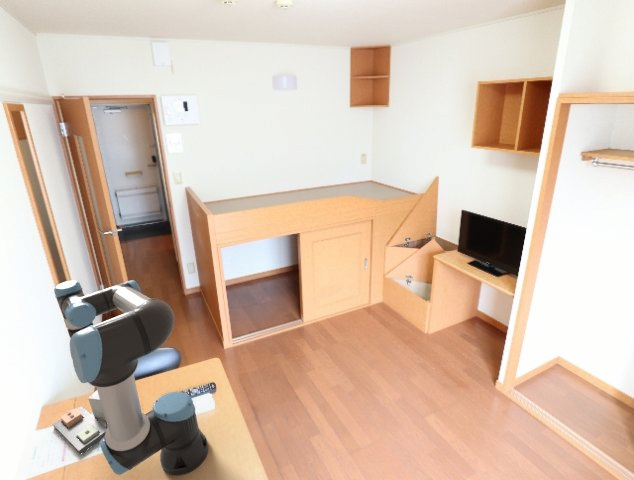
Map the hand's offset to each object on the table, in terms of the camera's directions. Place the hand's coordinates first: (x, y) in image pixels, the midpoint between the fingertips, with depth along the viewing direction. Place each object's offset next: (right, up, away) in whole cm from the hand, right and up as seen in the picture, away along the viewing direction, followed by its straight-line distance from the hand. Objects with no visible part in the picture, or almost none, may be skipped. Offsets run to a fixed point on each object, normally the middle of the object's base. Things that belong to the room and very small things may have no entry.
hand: (97, 378), depth 137 cm
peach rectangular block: (-10, -18, +2) cm, 20 cm away
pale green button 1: (0, -21, -4) cm, 21 cm away
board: (-5, -19, -1) cm, 20 cm away
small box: (0, -16, +7) cm, 17 cm away
